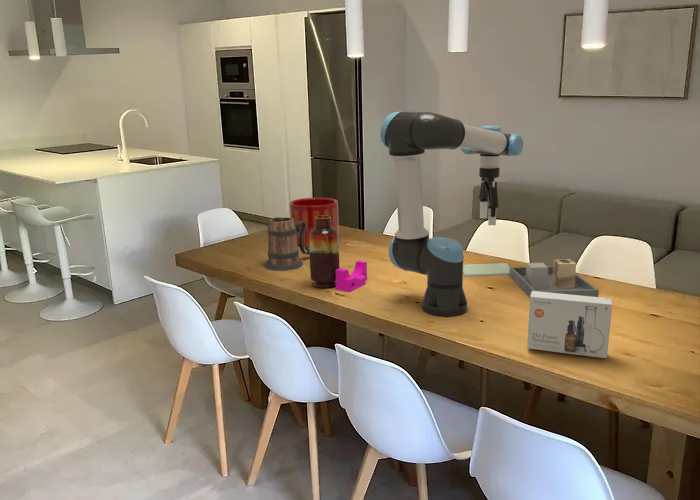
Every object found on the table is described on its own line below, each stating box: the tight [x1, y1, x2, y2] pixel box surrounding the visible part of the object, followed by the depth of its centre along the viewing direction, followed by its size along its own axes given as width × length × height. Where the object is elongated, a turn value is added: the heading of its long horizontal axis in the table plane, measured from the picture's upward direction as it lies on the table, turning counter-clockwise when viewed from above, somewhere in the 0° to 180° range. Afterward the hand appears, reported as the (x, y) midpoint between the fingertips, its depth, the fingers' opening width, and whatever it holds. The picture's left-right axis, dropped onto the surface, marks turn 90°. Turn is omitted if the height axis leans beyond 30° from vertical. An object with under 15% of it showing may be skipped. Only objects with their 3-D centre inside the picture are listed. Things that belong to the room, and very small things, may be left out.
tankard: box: [264, 216, 310, 272], centre depth 265 cm, size 24×17×20 cm
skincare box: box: [526, 291, 613, 359], centre depth 173 cm, size 21×6×16 cm, turn 69°
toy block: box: [335, 260, 368, 293], centre depth 236 cm, size 15×6×8 cm, turn 144°
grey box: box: [525, 262, 548, 289], centre depth 227 cm, size 6×6×8 cm
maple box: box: [552, 258, 577, 288], centre depth 227 cm, size 6×6×9 cm
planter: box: [288, 197, 340, 248], centre depth 300 cm, size 23×23×20 cm
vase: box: [308, 215, 340, 289], centre depth 235 cm, size 11×11×26 cm
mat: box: [463, 262, 511, 278], centre depth 250 cm, size 14×20×1 cm
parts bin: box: [508, 265, 600, 298], centre depth 228 cm, size 30×22×4 cm
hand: (487, 221), depth 245 cm, fingers open, 13 cm apart
